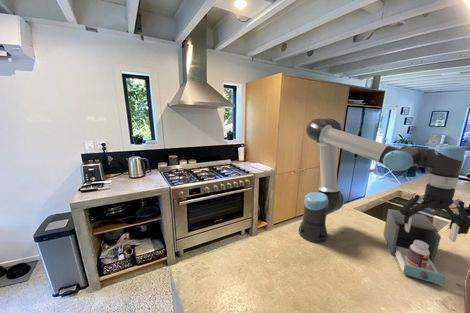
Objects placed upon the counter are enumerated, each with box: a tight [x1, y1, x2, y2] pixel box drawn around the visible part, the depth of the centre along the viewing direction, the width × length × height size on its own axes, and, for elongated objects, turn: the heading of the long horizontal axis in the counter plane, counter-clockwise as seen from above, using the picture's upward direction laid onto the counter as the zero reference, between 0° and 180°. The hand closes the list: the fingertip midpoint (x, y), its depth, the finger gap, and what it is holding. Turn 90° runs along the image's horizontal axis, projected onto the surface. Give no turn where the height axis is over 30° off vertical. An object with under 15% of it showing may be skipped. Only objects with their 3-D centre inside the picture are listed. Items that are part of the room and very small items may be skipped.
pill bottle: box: [407, 240, 430, 269], centre depth 82 cm, size 6×6×11 cm
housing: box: [383, 208, 442, 265], centre depth 94 cm, size 18×15×16 cm
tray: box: [394, 246, 446, 286], centre depth 83 cm, size 18×12×4 cm, turn 152°
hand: (428, 235), depth 77 cm, fingers open, 13 cm apart
